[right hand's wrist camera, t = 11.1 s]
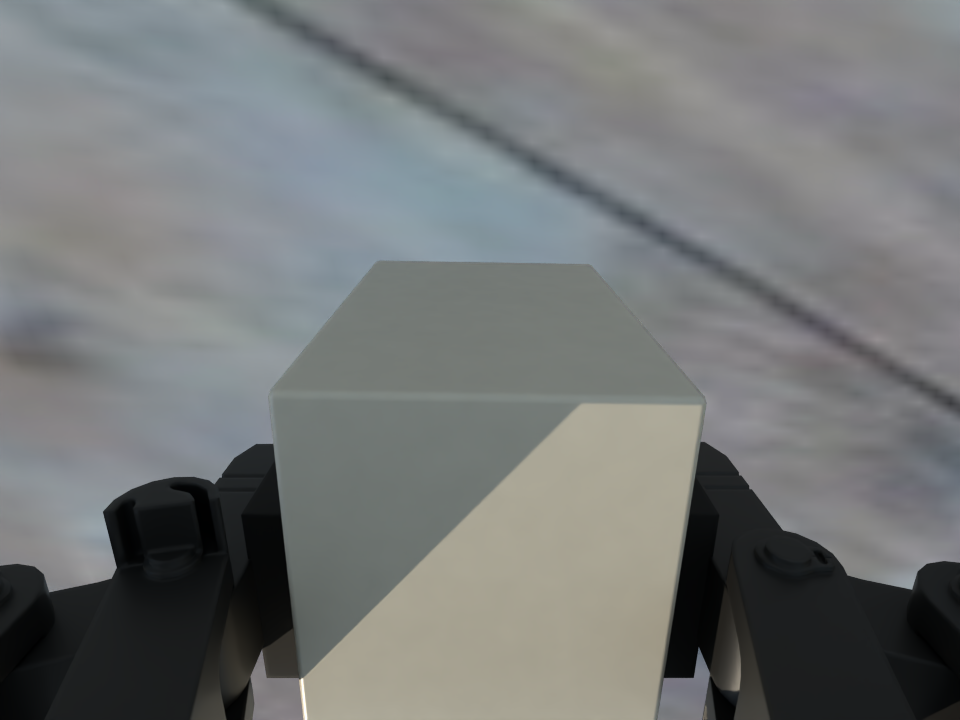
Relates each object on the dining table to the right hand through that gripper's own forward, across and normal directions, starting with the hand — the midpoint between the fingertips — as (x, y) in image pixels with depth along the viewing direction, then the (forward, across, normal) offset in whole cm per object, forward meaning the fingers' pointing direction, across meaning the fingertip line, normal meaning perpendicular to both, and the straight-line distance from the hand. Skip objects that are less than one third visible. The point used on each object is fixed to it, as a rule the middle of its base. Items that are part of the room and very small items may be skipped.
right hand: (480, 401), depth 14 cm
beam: (0, 0, -10) cm, 10 cm away
